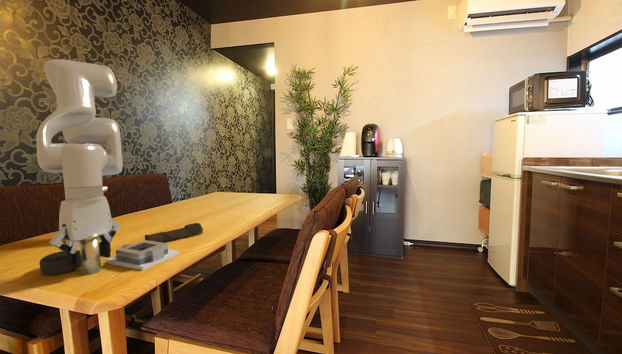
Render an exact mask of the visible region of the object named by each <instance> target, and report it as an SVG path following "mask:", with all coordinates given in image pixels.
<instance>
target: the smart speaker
mask: <svg viewBox="0 0 622 354" xmlns="http://www.w3.org/2000/svg"><path fill="white" fill-rule="evenodd" d="M77 252H79V255H80V249H79V250H78V249H77ZM38 263H39V271H40V273H41V274H42V275H45V276H55V275H62V274H66V273H70V272H73V271H75V270H77V269H76V268H71V267H70V266H69V265H68V260H67V252H64V251H63V250H61V251H57V252H53V253H49V254H47V255H45V256H43V257H42V258H41V259H39V262H38ZM80 265H81V258H80Z"/></svg>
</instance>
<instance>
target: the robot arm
mask: <svg viewBox="0 0 622 354" xmlns="http://www.w3.org/2000/svg"><path fill="white" fill-rule="evenodd" d="M44 73H45V76H46V79H47V82H48V84H49V86H50V88H51V89H52V91H53V92H54V94H55V97H56V109H57V110H55V111H53V112H52V113H51V114H49V115H48V116H47V117H46V118H45V119H44V120H43V121H42V122H41V123H40V125H39V127H38V129H37V133H36V159H37V164H38V165H39V167H40V169H41V170H43V172H45V173H51V174H52V173H55V174H56V173H58V174H59V173H61V174H62V178H63V187H64V195H65V196H64V197H65V200H62V201H61V202H60V206H59V213H58V214H59V216H58V217H59V218H58V230H59V231H58V232H57V233H56V234H55V235H54V236H52V238H51V239H50V240H49V244H51V246H54V247H55V248H57V249H59V250H61V251H64V252H67V260H68V265H69V266H70V267H71V268H76V270H78V269H80V268H81V265H80V255H79V252H77V250H78V248H79V243H80V241H81V240H85V239H87V238H88V237H89V236H91V235H95V234H98V233H99V235H100V237H99V248H100V258H101V257H102V258H107V259H109V258H111V252H112V250H111V243H112V242H113V238H114V237H115V235H116V234H117V232H118V230H119V229H120V227H121V224H120V223H118V222H117V221H115V220H114V219H112V214H111V208H110V205H109V202H108V199H107V197H106V196H105V195H104V194H105V193H104V192H107V191H108V187H107V186H106V185H105V186H104V185H103V176H115V175H118V174H120V173H122V170H123V169H124V168H123V164H124V163H123V161H124V160H123V152H122V150H123V149H122V139H121V131H120V127H119V124H118V122H117V121H116V120H114V119H112V118H107V117H106V118H105V117H96V115H97V110H96V105H95V104H96V102H95V97H103V98H113V97H114V96H116V95H117V91H118V85H117V79H116V78H117V77H116V75H115V73H114V72H113V70H112V69H111V67H109V66H107V65H103V64H99V63H98V64H97V63H90V62H82V61H77V60H69V59H58V58H56V59H49V60H47V61H45V63H44ZM59 132H62V135H63V139H64V140H65V142H67V143H61V142H60V143H58V142H57V143H52V139H53V137H54V136H55V135H57V134H58V133H59ZM103 146H104V147H106V148H104V147H103ZM63 241H64V242H65V243H64V242H63Z"/></svg>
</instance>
